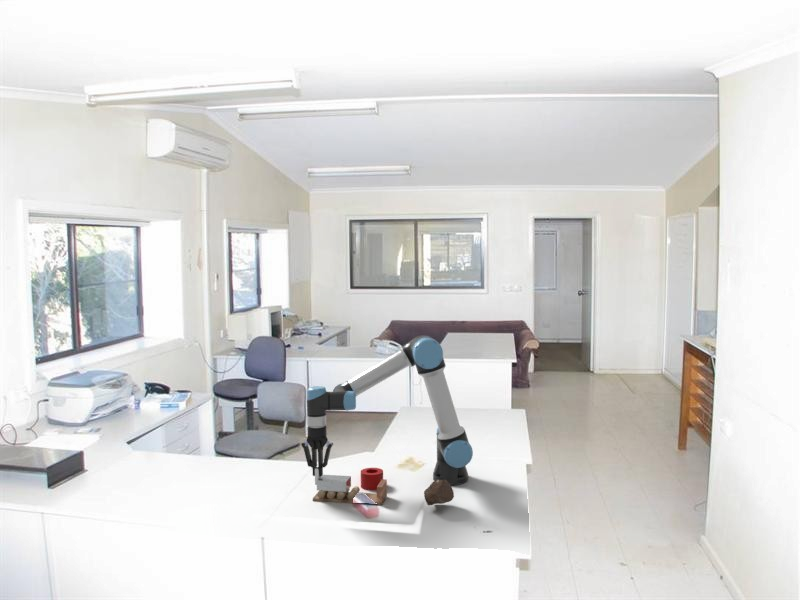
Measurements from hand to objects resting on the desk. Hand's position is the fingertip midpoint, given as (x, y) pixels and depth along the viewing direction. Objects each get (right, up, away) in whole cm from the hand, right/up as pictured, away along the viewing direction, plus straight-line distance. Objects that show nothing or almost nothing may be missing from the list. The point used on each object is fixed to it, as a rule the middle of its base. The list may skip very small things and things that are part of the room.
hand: (317, 483), depth 247 cm
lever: (+20, -5, +16) cm, 26 cm away
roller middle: (+6, -4, -1) cm, 8 cm away
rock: (+47, -6, -9) cm, 48 cm away
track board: (+13, -5, -2) cm, 14 cm away
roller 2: (+10, -4, -2) cm, 11 cm away
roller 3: (+14, -2, -3) cm, 15 cm away
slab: (+7, -1, -1) cm, 7 cm away
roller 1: (+2, -4, 0) cm, 5 cm away
